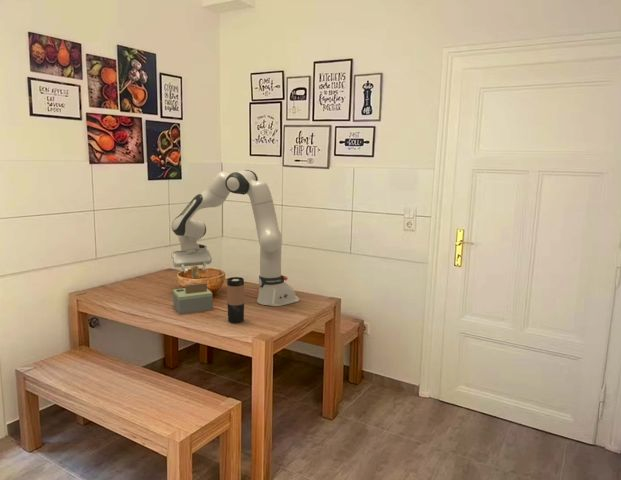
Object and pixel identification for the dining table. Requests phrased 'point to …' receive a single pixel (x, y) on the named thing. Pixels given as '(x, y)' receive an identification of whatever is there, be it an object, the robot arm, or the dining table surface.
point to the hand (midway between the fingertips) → (195, 271)
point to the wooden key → (195, 272)
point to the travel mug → (235, 299)
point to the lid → (192, 291)
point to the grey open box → (193, 304)
